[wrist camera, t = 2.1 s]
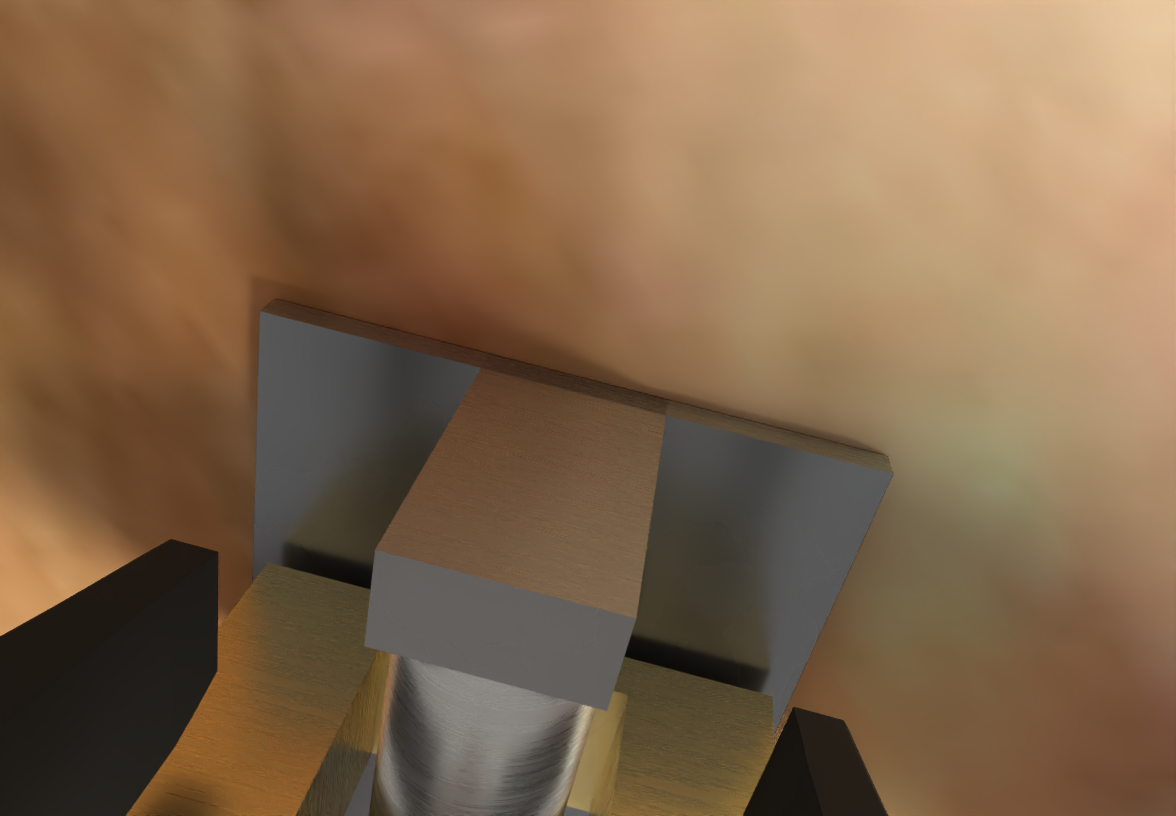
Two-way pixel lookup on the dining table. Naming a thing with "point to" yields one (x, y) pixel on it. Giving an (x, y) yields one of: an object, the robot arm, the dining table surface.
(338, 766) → the yellow block with hole
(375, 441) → the pipe stand
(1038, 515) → the dining table surface
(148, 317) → the dining table surface
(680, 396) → the dining table surface
